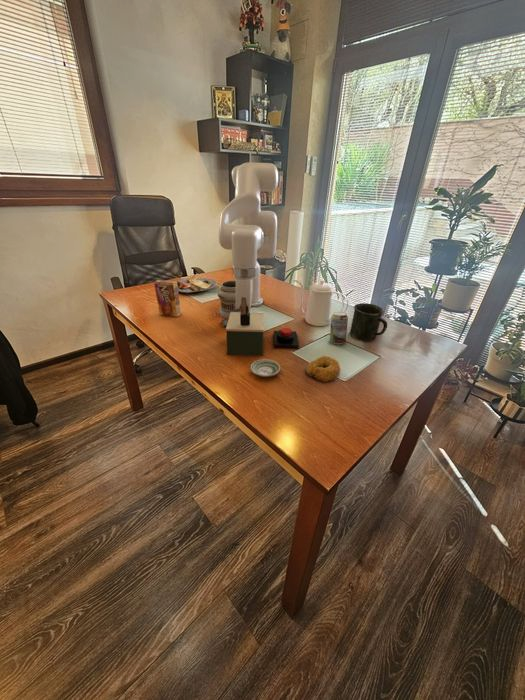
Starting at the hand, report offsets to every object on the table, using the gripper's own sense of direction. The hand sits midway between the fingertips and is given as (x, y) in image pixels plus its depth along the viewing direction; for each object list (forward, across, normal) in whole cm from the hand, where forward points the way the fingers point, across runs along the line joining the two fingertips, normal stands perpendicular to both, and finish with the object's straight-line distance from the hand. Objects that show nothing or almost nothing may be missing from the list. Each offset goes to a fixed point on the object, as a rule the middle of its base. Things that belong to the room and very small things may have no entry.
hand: (245, 324), depth 101 cm
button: (+8, -8, +15) cm, 19 cm away
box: (+11, -4, 0) cm, 12 cm away
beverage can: (+11, -9, +35) cm, 38 cm away
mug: (+11, -13, +48) cm, 51 cm away
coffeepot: (+11, -27, +30) cm, 42 cm away
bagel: (+11, +13, +26) cm, 31 cm away
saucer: (+11, +14, +7) cm, 19 cm away
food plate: (+11, -68, -34) cm, 76 cm away
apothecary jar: (+11, -22, -7) cm, 26 cm away
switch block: (+11, -8, +15) cm, 20 cm away
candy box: (+11, -30, -36) cm, 49 cm away
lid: (+1, -3, 0) cm, 4 cm away
